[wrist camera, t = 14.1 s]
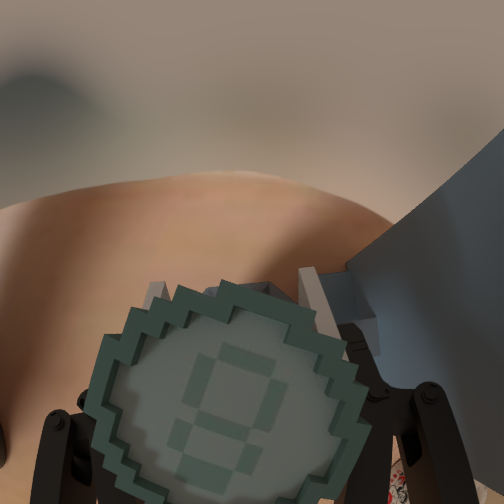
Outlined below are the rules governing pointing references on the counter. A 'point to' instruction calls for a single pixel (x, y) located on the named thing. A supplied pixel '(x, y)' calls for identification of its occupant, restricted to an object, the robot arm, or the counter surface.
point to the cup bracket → (438, 303)
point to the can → (226, 402)
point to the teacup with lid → (398, 488)
